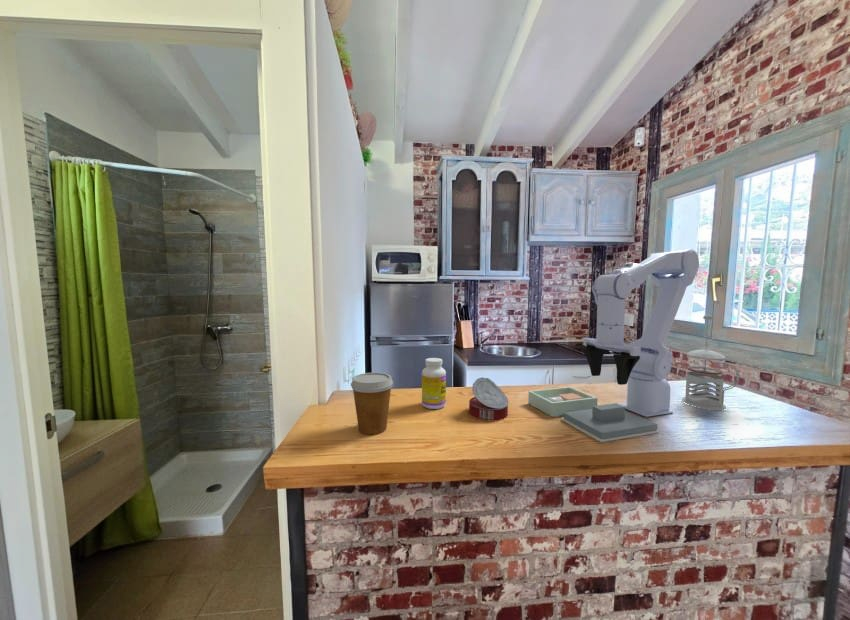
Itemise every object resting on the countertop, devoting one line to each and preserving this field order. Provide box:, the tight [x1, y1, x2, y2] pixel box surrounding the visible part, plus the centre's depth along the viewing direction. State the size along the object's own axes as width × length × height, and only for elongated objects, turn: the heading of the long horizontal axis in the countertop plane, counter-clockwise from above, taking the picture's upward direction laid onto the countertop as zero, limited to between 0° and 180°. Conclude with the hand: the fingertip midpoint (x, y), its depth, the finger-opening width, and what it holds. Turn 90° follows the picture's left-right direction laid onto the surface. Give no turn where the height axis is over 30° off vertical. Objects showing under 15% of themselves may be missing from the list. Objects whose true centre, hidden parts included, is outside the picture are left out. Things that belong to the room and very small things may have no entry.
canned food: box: [468, 377, 509, 422], centre depth 81 cm, size 11×10×10 cm
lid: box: [563, 402, 658, 439], centre depth 73 cm, size 15×11×4 cm
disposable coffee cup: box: [350, 372, 394, 436], centre depth 71 cm, size 10×10×12 cm
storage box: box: [527, 386, 598, 418], centre depth 85 cm, size 14×10×4 cm
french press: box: [681, 314, 740, 411], centre depth 86 cm, size 10×12×25 cm
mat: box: [560, 417, 660, 443], centre depth 73 cm, size 16×12×1 cm
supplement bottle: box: [421, 357, 447, 410], centre depth 86 cm, size 7×7×13 cm
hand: (608, 379), depth 76 cm, fingers open, 7 cm apart
